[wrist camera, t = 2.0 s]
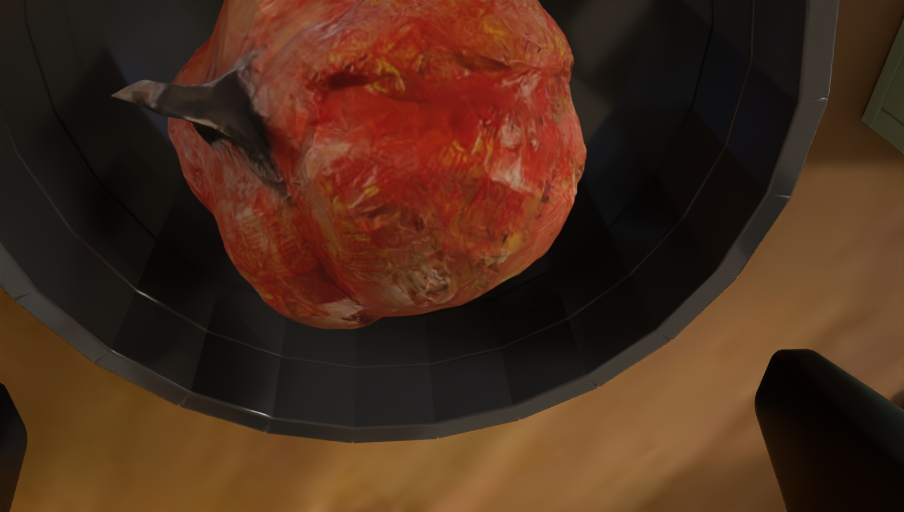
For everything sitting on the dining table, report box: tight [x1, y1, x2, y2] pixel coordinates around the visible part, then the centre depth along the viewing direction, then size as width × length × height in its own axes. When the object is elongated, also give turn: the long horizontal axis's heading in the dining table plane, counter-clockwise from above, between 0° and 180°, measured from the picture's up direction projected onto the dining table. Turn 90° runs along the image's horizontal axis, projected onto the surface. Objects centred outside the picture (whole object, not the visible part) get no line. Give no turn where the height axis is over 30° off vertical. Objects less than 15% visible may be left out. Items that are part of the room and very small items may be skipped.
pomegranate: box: [112, 0, 587, 329], centre depth 14 cm, size 7×7×10 cm
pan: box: [0, 0, 840, 443], centre depth 15 cm, size 16×16×4 cm
